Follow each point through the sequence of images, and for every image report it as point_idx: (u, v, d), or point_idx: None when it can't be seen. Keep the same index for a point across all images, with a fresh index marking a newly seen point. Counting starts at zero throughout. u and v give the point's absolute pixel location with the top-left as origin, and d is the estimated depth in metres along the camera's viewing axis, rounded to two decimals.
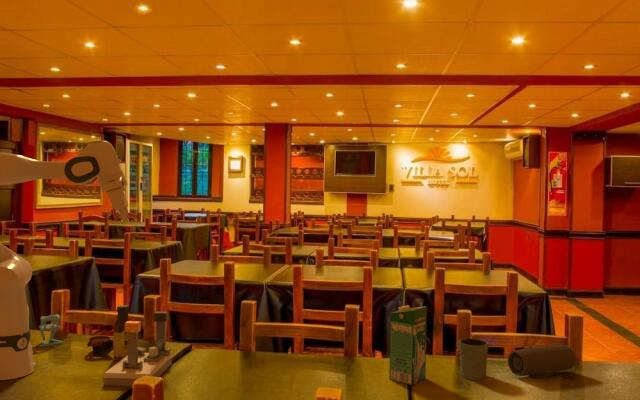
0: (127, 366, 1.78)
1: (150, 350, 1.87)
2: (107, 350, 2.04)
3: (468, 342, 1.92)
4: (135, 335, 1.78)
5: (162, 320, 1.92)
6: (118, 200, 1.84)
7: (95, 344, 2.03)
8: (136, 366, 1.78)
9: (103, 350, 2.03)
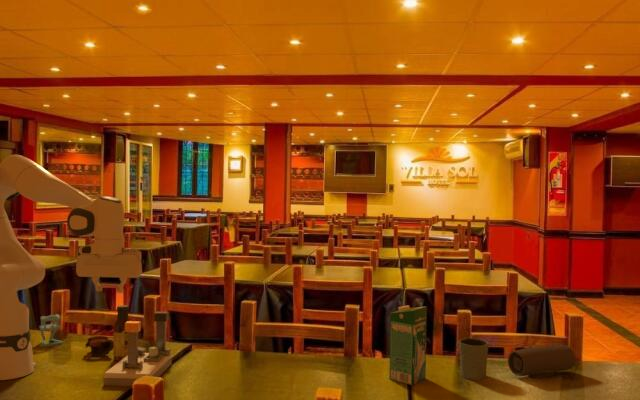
0: (127, 366, 1.78)
1: (150, 350, 1.87)
2: (106, 350, 2.03)
3: (468, 342, 1.92)
4: (135, 335, 1.78)
5: (162, 320, 1.92)
6: None
7: (94, 344, 2.02)
8: (136, 366, 1.78)
9: (101, 350, 2.02)
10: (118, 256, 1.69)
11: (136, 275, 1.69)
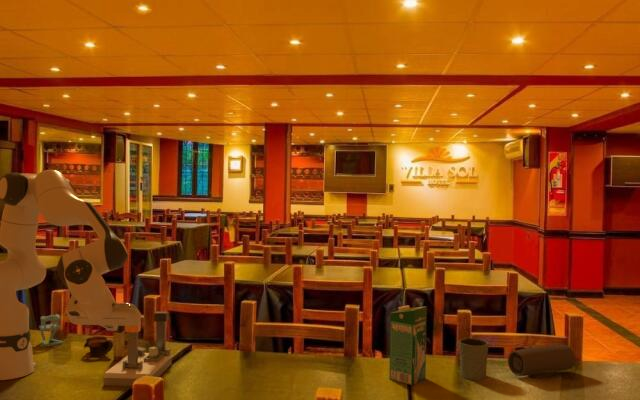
0: (127, 366, 1.78)
1: (150, 350, 1.87)
2: (104, 351, 2.03)
3: (468, 342, 1.92)
4: (135, 335, 1.78)
5: (162, 320, 1.92)
6: None
7: (92, 345, 2.02)
8: (136, 366, 1.78)
9: (100, 351, 2.02)
10: (111, 313, 1.54)
11: (136, 324, 1.58)
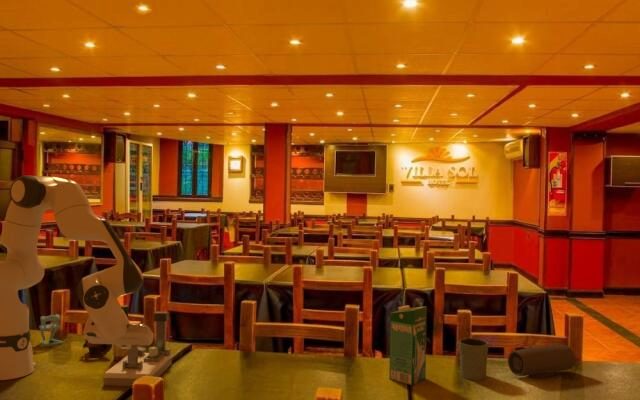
0: (127, 366, 1.78)
1: (150, 350, 1.87)
2: (103, 351, 2.02)
3: (468, 342, 1.92)
4: None
5: (162, 320, 1.92)
6: None
7: (91, 345, 2.01)
8: (136, 366, 1.78)
9: (99, 351, 2.02)
10: (125, 334, 1.64)
11: (149, 344, 1.68)
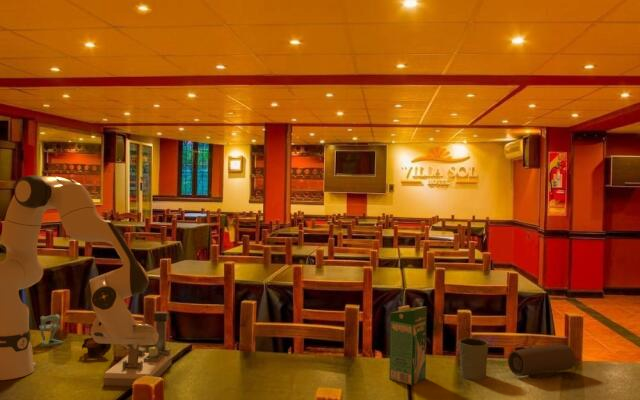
0: (127, 366, 1.78)
1: (150, 350, 1.87)
2: (102, 351, 2.02)
3: (468, 342, 1.92)
4: None
5: (162, 320, 1.92)
6: None
7: (90, 345, 2.01)
8: (136, 366, 1.78)
9: (98, 351, 2.01)
10: (132, 334, 1.69)
11: (154, 344, 1.73)
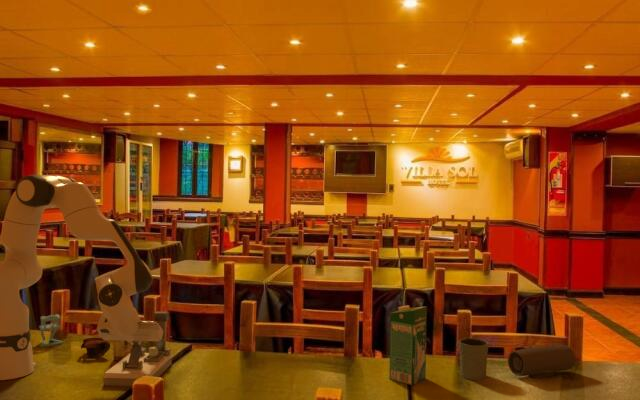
0: (127, 364, 1.78)
1: (150, 350, 1.87)
2: (101, 352, 2.02)
3: (468, 342, 1.92)
4: None
5: (162, 320, 1.92)
6: None
7: (89, 346, 2.01)
8: (136, 364, 1.78)
9: (97, 351, 2.01)
10: (137, 330, 1.73)
11: (159, 340, 1.77)
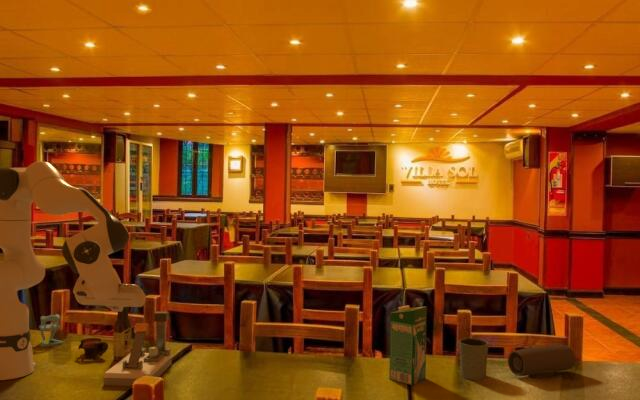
0: (127, 364, 1.78)
1: (150, 350, 1.87)
2: (99, 352, 2.01)
3: (468, 342, 1.92)
4: (142, 335, 1.85)
5: (162, 320, 1.92)
6: None
7: (87, 346, 2.00)
8: (136, 364, 1.78)
9: (95, 352, 2.00)
10: (117, 294, 1.59)
11: (141, 305, 1.63)
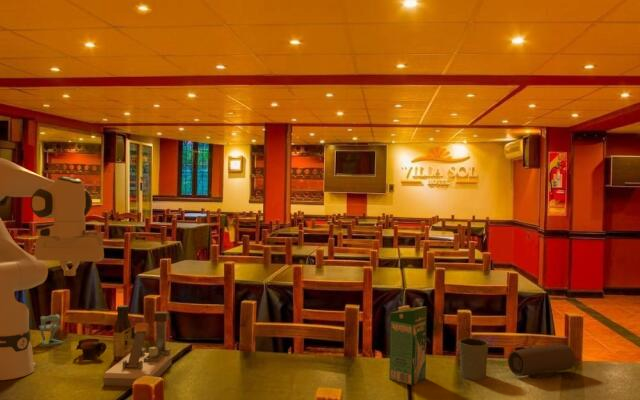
0: (127, 364, 1.78)
1: (150, 350, 1.87)
2: (97, 353, 2.00)
3: (468, 342, 1.92)
4: (142, 335, 1.85)
5: (162, 320, 1.92)
6: None
7: (85, 347, 1.99)
8: (136, 364, 1.78)
9: (93, 353, 1.99)
10: (78, 239, 1.62)
11: (97, 259, 1.62)
